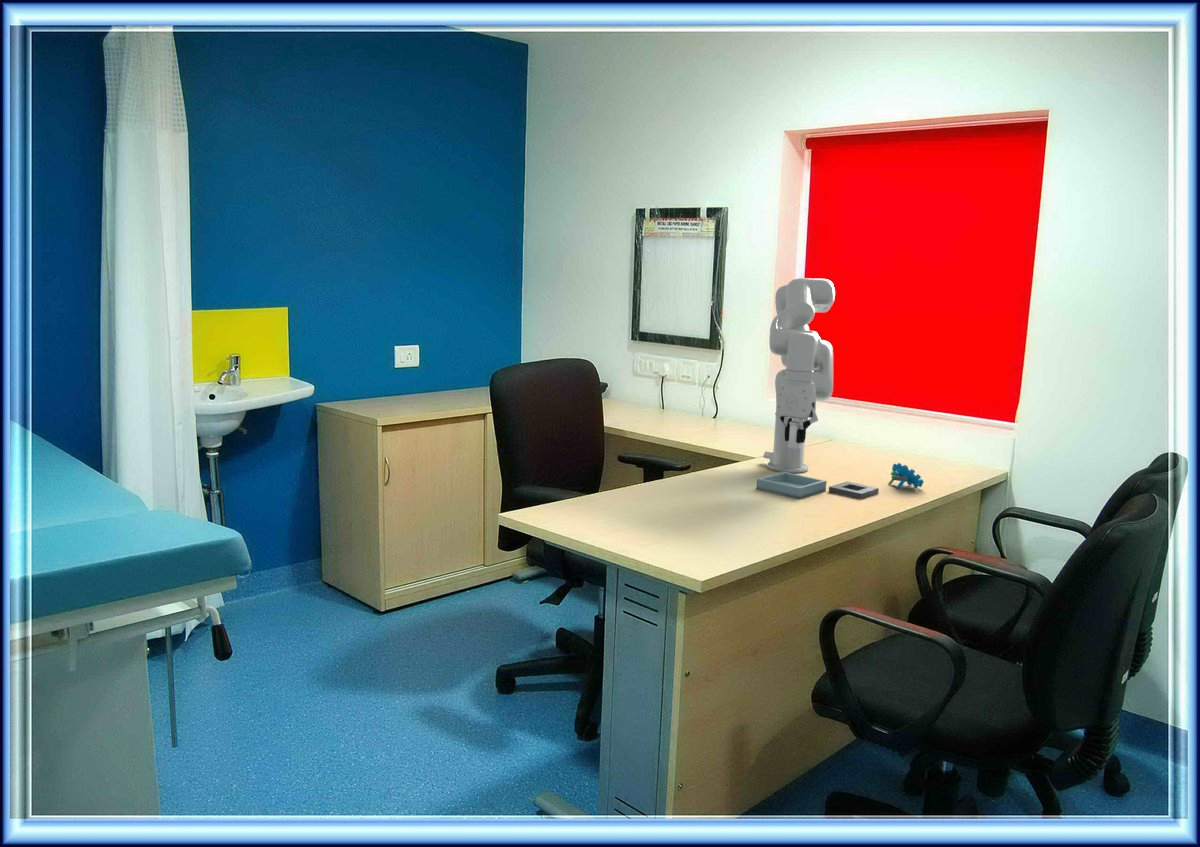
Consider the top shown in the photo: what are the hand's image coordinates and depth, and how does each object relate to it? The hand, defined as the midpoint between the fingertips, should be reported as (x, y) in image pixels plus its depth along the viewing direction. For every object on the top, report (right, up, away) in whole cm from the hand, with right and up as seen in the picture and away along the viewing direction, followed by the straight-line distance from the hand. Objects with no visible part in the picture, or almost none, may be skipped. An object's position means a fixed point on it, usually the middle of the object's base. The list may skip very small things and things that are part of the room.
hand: (794, 440), depth 252 cm
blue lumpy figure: (+35, -14, +11) cm, 39 cm away
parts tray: (0, -14, +3) cm, 14 cm away
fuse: (0, -2, 0) cm, 2 cm away
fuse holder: (+17, -15, +2) cm, 23 cm away
